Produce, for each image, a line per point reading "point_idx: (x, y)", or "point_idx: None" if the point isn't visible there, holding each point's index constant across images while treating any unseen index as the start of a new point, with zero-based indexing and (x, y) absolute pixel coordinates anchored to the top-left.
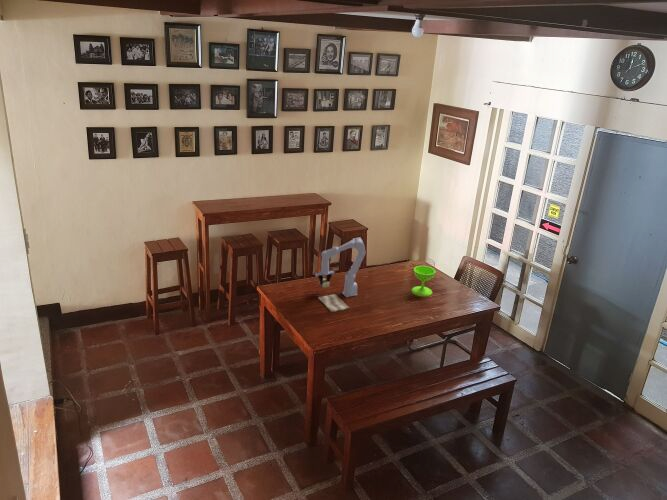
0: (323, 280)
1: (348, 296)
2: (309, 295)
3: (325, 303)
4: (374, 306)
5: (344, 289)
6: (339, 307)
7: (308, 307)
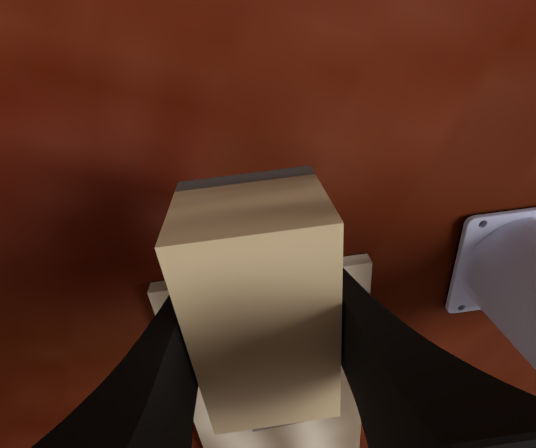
0: (250, 327)
1: (470, 309)
2: (43, 199)
3: (197, 396)
4: None
5: (504, 309)
6: (290, 445)
7: (30, 403)
